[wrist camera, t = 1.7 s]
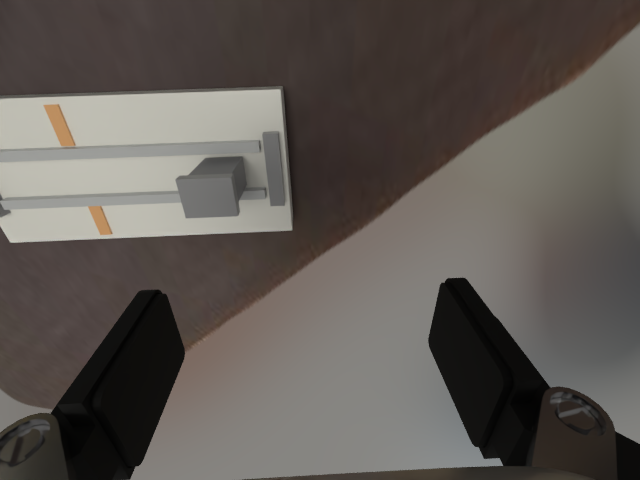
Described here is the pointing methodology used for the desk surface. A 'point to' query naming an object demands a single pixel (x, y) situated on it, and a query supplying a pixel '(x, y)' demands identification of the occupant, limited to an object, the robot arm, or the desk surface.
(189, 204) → the fader tab
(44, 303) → the desk surface
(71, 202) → the slider track base
